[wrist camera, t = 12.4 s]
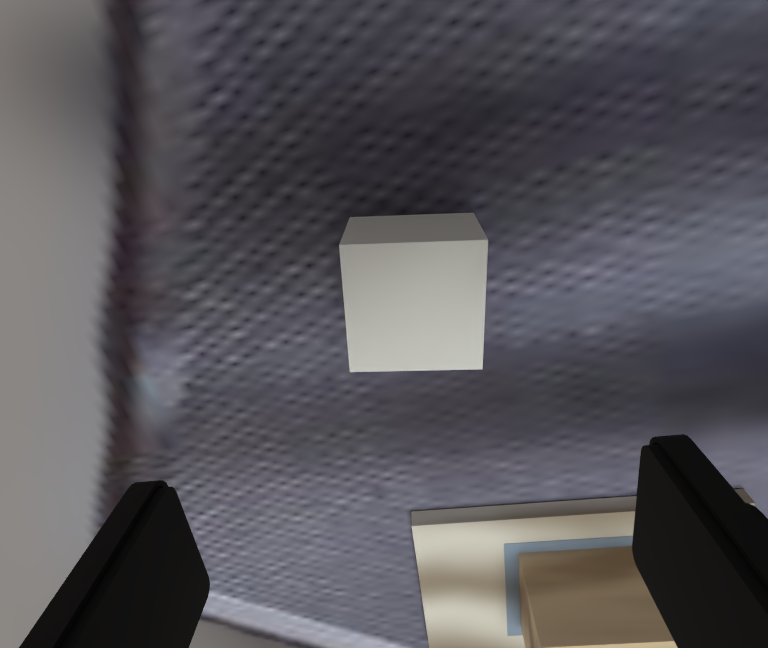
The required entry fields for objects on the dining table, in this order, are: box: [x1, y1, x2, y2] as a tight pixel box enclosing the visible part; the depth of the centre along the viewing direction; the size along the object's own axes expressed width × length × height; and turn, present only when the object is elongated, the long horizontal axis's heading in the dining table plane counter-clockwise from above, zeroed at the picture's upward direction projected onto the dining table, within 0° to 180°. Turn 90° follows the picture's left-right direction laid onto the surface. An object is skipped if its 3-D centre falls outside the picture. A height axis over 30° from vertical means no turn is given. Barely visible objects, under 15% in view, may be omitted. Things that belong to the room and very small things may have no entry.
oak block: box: [518, 546, 678, 648], centre depth 26 cm, size 6×6×5 cm
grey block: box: [339, 213, 488, 372], centre depth 20 cm, size 5×5×4 cm
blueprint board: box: [411, 489, 755, 648], centre depth 28 cm, size 11×17×1 cm, turn 97°
